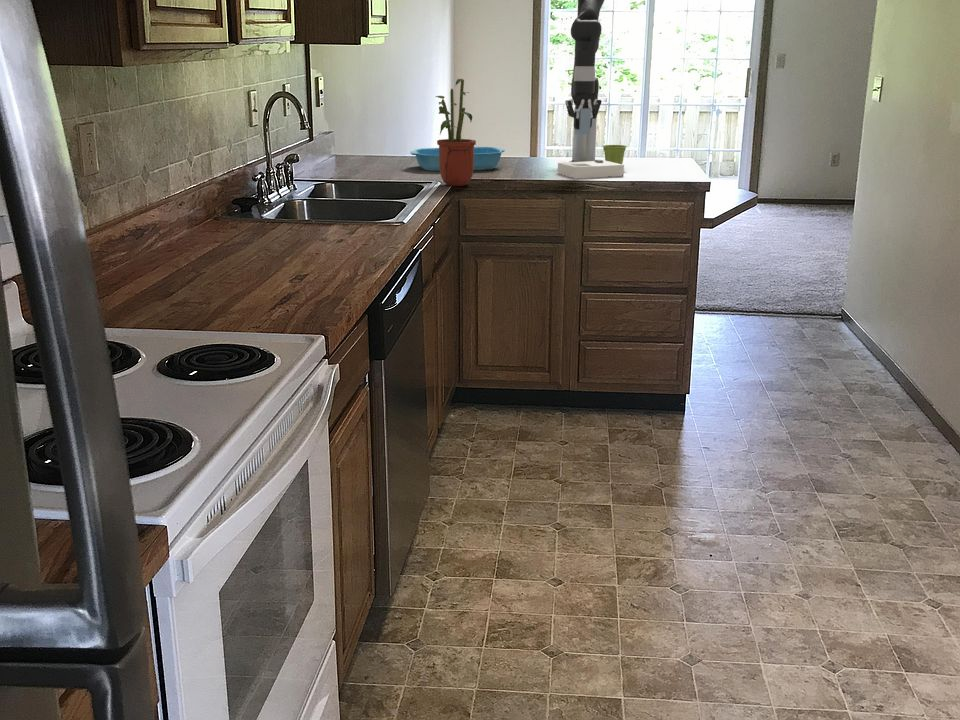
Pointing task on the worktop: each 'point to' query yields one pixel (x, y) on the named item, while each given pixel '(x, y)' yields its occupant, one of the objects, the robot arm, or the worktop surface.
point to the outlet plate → (590, 169)
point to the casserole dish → (482, 158)
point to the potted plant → (455, 146)
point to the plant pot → (614, 153)
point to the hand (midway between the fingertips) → (582, 128)
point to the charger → (584, 121)
